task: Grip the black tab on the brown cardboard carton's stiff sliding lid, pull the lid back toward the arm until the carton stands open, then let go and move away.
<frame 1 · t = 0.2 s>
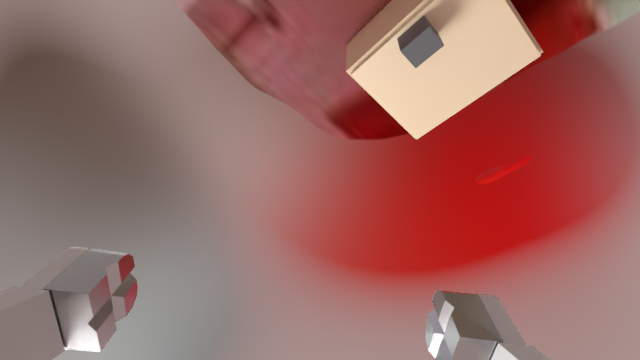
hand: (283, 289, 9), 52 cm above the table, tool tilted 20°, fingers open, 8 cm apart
carton lid: (444, 70, 45), point 13 cm above the table, slide at 0.0 cm
carton: (428, 34, 54), on the table
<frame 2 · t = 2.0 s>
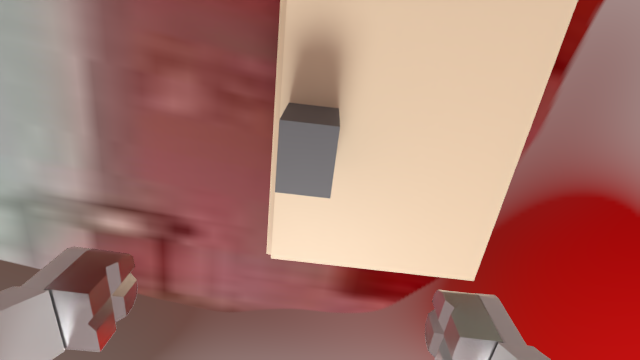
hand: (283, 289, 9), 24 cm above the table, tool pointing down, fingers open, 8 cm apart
carton lid: (403, 156, 20), point 13 cm above the table, slide at 0.0 cm
carton: (378, 107, 32), on the table
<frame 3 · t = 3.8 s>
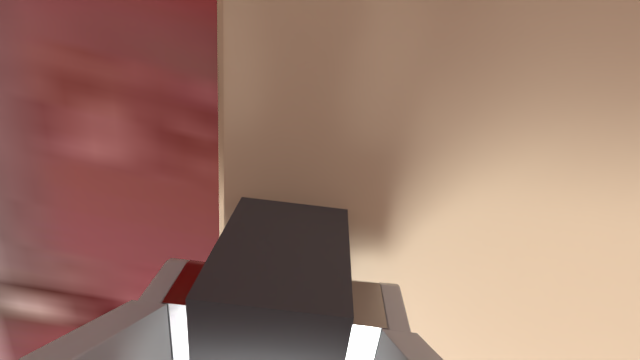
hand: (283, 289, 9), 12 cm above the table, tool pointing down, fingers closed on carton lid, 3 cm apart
carton lid: (489, 322, 9), point 13 cm above the table, slide at 0.0 cm, touching gripper
carton: (404, 156, 21), on the table
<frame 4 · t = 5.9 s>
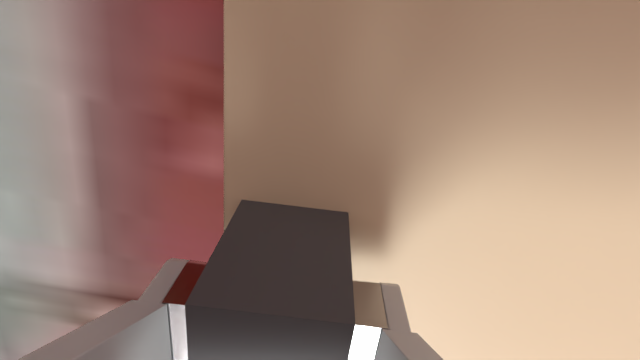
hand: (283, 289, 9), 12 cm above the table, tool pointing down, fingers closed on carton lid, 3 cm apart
carton lid: (490, 326, 9), point 13 cm above the table, slide at 7.3 cm, touching gripper
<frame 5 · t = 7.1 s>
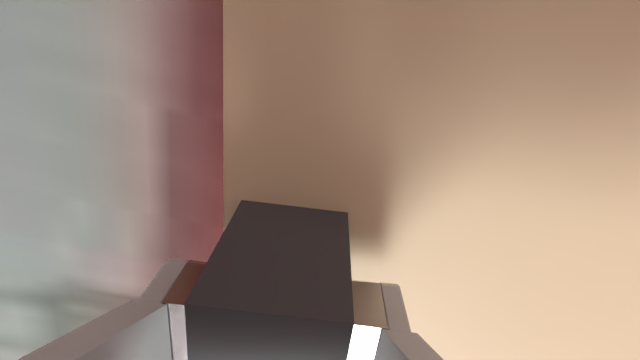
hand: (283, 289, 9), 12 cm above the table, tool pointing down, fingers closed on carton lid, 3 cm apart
carton lid: (490, 326, 9), point 13 cm above the table, slide at 12.0 cm, touching gripper
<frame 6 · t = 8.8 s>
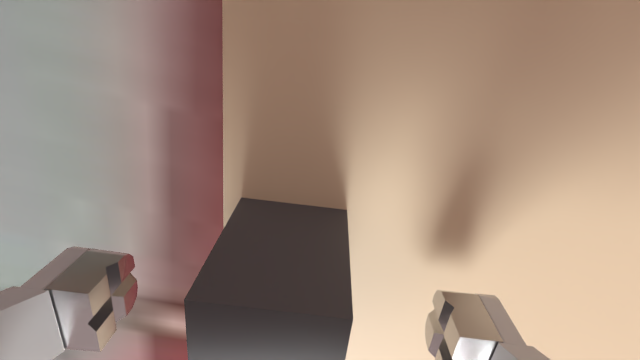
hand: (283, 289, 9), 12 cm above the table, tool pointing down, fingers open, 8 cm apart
carton lid: (488, 323, 9), point 13 cm above the table, slide at 12.0 cm
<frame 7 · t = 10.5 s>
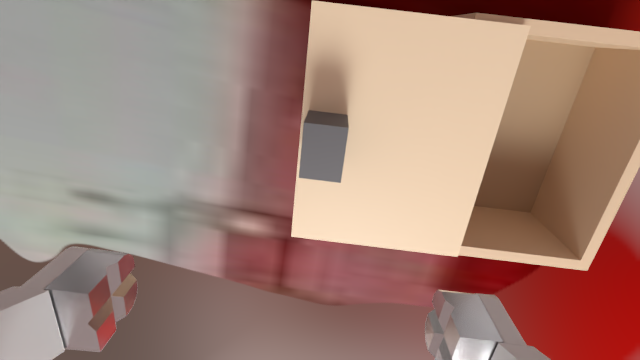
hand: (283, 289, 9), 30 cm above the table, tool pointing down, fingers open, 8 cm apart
carton lid: (397, 152, 26), point 13 cm above the table, slide at 12.0 cm
carton: (490, 128, 38), on the table
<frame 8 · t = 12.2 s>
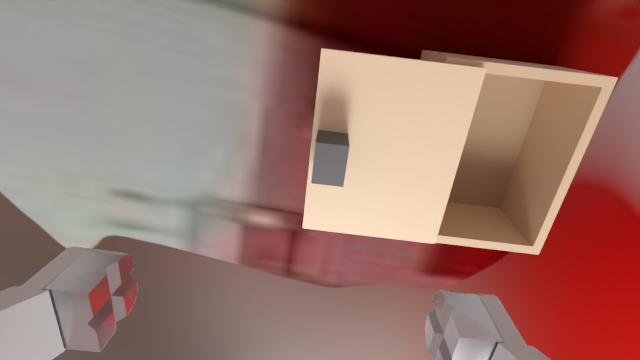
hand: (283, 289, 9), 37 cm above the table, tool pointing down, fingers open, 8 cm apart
carton lid: (386, 162, 34), point 13 cm above the table, slide at 12.0 cm
carton: (465, 138, 45), on the table
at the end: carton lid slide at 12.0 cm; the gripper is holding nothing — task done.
